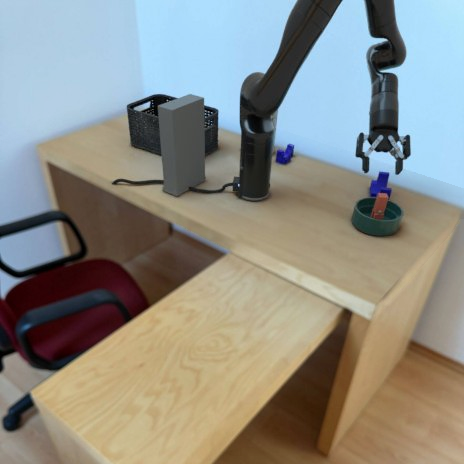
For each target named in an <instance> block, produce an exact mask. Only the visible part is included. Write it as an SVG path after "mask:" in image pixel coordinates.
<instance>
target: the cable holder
mask: <svg viewBox="0 0 464 464" xmlns="http://www.w3.org/2000/svg"><path fill="white" fill-rule="evenodd" d="M294 150H295V144H292V143H288V144H287V145H286V148H285V150H284V149H280V148H279V149H277V150H276V157H275V162H276V163H279V164H281V165H286V164H288V163H290V162H291V160H292V158H293V157H294Z"/></svg>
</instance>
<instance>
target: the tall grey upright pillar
mask: <svg viewBox="0 0 464 464" xmlns="http://www.w3.org/2000/svg"><path fill="white" fill-rule="evenodd" d="M177 98H178V99H175V100H172V101H169V102H167V103H164V104H161V105H159V106H158V118H159V130H160V142H161V155H160V156H161V165H162V180H164V183H163V186H162V191H163V192H165V193H167V194H170V195H173V196H175V197H179V196H181V195H182V194H184V193H186V192H188V191H190V190H189V187H193V188H195V187H196V186H198V185H200V184H202V183H204V182H205V181H206V180H207V177H206V156H205V126H206V125H204V105H205V97H203V96H199V95H195V94H191V93H189V94H185V95H183V96H180V97H177Z"/></svg>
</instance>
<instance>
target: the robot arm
mask: <svg viewBox="0 0 464 464" xmlns="http://www.w3.org/2000/svg"><path fill="white" fill-rule="evenodd" d="M343 1H344V0H296V2H295V4H294V5H293V6H292V8H291V10H290V12H289V14H288V16H287V19H286V21H285V24H284V27H283V32H282V35H281V40H280V43H279V46H278V49H277V51H276V55H275V57H274V59H273V60H272V62H271V64H270V65H269V66H268V68H267V70H266V72H261V71H255V72H252V73H250V74H249V75H247V76H246V77H245V79H243V82H242V83H241V86H240V91H239V127H240V131H241V132H240V154H239V155H240V156H239V157H240V158H239V169H238V170H239V174H238V176H233V179H232V182H227V183H225V184H223V185H222V187H221V188H219V189H214V190H213V189H204V188H197V187H189V190H188V191H193V192H196V193H202V194H219V193H222V192H224V191H225V190H226V188H228V187H232V192H236V193H237V194H238V199H243V200H246V201H250V202H259V201H264V200H266V199H267V198H268V197H270V196H269V195H270V189H271V173H272V164H273V163H272V162H273V154H274V152H273V143H274V126H273V123H272V119H271V115H273V114H274V113H275V112H276V111H277V110H278V111H279V110H280V108H281V105H282V104H283V102H284V100H285V99H286V96H287V94H288V93H289V90H290V89H291V87H292V84H293V82H294V81H295V79H296V77H297V75H298V73H299V71H300V70H301V68H302V66H303V64H305V62H306V60H307V59H308V57H309V55H310V54H311V52H312V50H313V49H314V47H315V46H316V44H317V43H318V41H319V40H320V38H321V37H322V35H323V34H324V33H325V31H326V30H327V28H328V26H329V24H330V23H331V21H332V20H333V18H334V16H335V15H336V13H337V11H338V10H339V7H340V6H341V5H342V3H343ZM363 6H364V14H365V19H366V26H367V32H368V34H369V37H371V38H372V39H385V40H384V41H380V42H376V43H373V44H371V45H369V47H367V49H366V52H365V56H364V60H365V65H366V68H367V72H368V74H369V79H370V104H369V110H368V116H369V119H368V121H369V122H368V125H369V126H368V134H365V133H364V132H359V134H358V135H357V136H356V144H355V155H354V156H355V157H356V158H359V159H361V161H362V162H361V170H362V172H363V173H364V174H368V173H369V171H370V155H371V154H372V153H373V152H375V153H385V154H387V153H389V154H390V155H391V156H392V157H393V158H394V159H395V164H394V170H395V171H394V174H395V175H396V176H398V175H400V174H401V172H402V171H403V169H404V161H406V160H408V159H409V157H411V155H412V152H411V151H412V149H411V135H410V134H406V135H401V136H400V134H399V113H400V112H399V111H400V103H399V102H400V101H399V76H398V75H397V74H396V73H393V72H386V71H387V70H392V69H396V68H399V67H401V66H402V65H403V64H405V61H406V59H407V55H408V53H407V52H408V51H407V46H406V44H405V41H404V38H403V36H402V35H401V33H400V29H399V27H398V23H397V22H398V21H397V15H396V5H395V0H363ZM366 141H367V142H368V144H369V145H370V146H369V148H368V149H367V150H366V151H364V143H366ZM398 142H399V143H400V146H401V147H402V150H401V148H400V146H399V145H398ZM118 183H125V184H129V185H137V186H138V185H149V184H164V179H147V180H130V179H127V178H117V179H115V180H113V181H112V182H111V185H113V186H115V185H116V184H118Z"/></svg>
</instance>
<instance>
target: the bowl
mask: <svg viewBox="0 0 464 464" xmlns="http://www.w3.org/2000/svg"><path fill="white" fill-rule="evenodd" d="M376 198H377V197H370V196H367V197H362V198H359V199H358V200H357V201H355V204H354V207H353V211H352V215H351V223H352V225H353V226H354V227H355V228H356V229H357V230H359V231H361V232H363V233H365V234H367V235H370V236H375V237H376V236H377V237H385V236H390V235H392V234H395V233H397V231H398V230H399V228H400V225H401V223H402V219H403V217H404V210H403V208H402V207H401V206H400V205H399V204H398V203H397V202H395V201H393V200H391V199H389V200H388V201H387V204H386V208H385V211H384V217H383V220H378V219H373V218H370V217H371V213H372V210H373V209H374V205H375V201H376Z"/></svg>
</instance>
